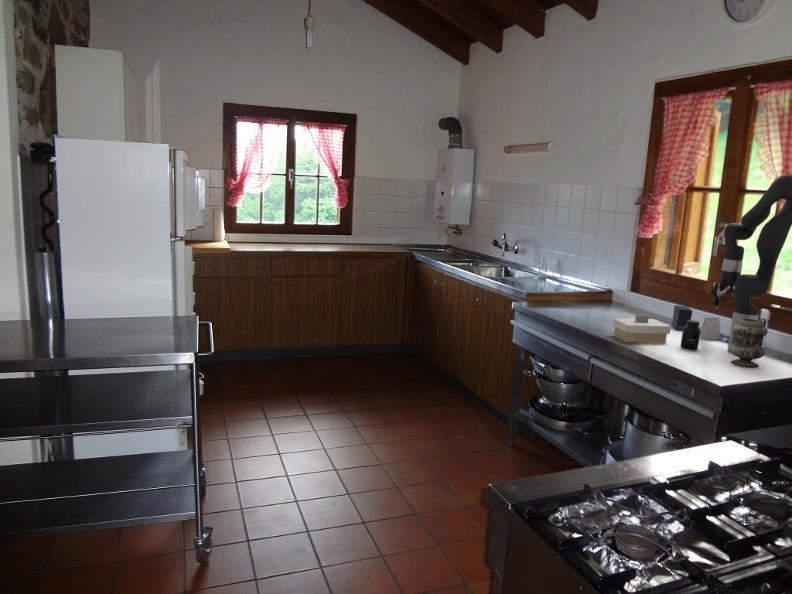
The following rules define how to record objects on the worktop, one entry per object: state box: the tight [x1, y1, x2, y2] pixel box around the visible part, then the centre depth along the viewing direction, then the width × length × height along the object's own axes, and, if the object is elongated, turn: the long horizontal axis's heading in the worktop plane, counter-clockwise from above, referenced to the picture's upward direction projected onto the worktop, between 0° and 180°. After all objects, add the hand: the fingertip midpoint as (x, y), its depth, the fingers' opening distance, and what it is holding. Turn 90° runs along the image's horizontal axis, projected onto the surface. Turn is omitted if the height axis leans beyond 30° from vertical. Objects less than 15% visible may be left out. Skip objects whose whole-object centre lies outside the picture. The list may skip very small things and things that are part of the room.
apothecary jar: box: [729, 318, 768, 369], centre depth 243 cm, size 12×12×18 cm
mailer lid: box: [612, 314, 672, 335], centre depth 276 cm, size 14×20×6 cm
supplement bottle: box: [680, 319, 701, 351], centre depth 265 cm, size 7×7×12 cm
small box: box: [670, 304, 693, 331], centre depth 304 cm, size 11×6×10 cm, turn 168°
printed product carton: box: [700, 316, 721, 341], centre depth 285 cm, size 4×7×10 cm, turn 101°
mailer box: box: [613, 326, 668, 344], centre depth 277 cm, size 12×18×7 cm, turn 97°
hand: (725, 306), depth 272 cm, fingers open, 8 cm apart
